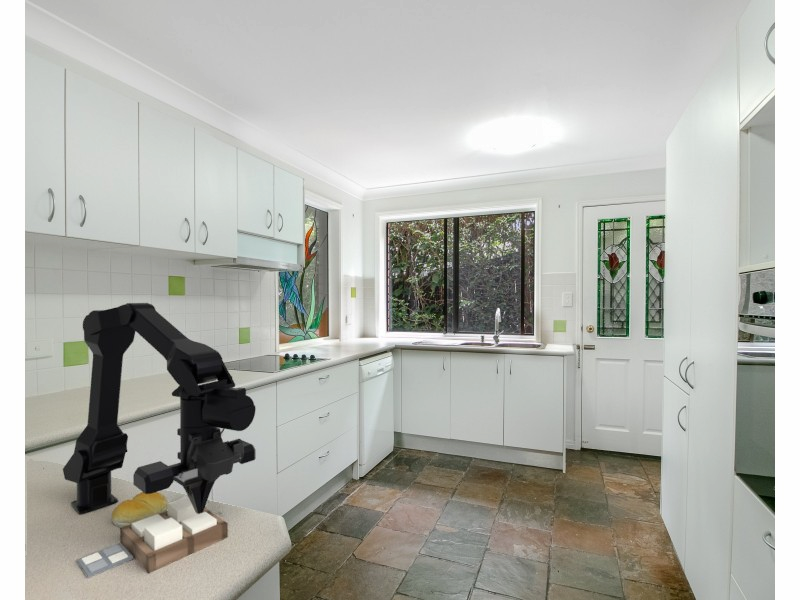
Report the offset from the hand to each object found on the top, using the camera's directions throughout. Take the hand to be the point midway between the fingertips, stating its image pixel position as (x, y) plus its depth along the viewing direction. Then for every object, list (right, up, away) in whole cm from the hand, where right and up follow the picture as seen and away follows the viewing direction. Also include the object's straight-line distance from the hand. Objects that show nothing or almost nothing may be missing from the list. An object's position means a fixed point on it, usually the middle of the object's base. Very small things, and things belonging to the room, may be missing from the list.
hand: (199, 512), depth 74 cm
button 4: (0, -4, 0) cm, 4 cm away
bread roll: (-15, -5, +8) cm, 18 cm away
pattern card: (-12, -5, -6) cm, 14 cm away
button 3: (-5, -3, +4) cm, 7 cm away
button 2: (-4, -3, -4) cm, 7 cm away
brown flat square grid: (-4, -5, 0) cm, 6 cm away
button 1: (-8, -4, -1) cm, 9 cm away
